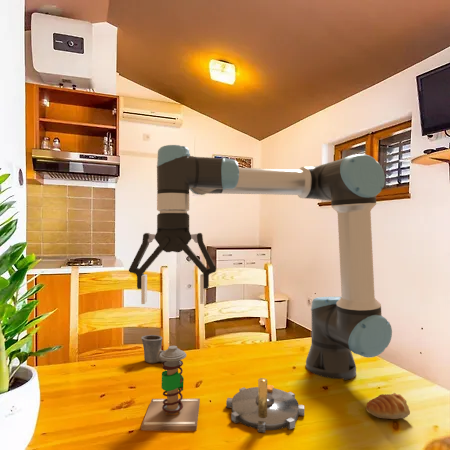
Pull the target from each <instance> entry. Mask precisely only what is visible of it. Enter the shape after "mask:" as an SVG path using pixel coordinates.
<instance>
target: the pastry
mask: <svg viewBox="0 0 450 450" xmlns="http://www.w3.org/2000/svg"><path fill="white" fill-rule="evenodd" d="M365 410H366V411H367V412H368V413H369V414H371V415H372V416H374V417H377V418H380V419H388V420H390V419H391V420H396V419H397V420H399V419H406V418H408V416H409V415H410V414H411V411H410V406H409V405H408V404H407V400H406V399H405V398H404V397H403V396H402V395H401V394H397V393H395V392H393V393H391V394H390V393H389V394H383V393H382V394H379V395H378V396H377V397H374V398H372V399H370V400H369V401H368V402H366V408H365Z"/></svg>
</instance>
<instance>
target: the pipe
mask: <svg viewBox="0 0 450 450" xmlns="http://www.w3.org/2000/svg"><path fill="white" fill-rule="evenodd" d="M140 340H141V341H142V345H143V353H144V354H143V358H144V361H145V362H146V363H148V364H155V363H162V364H163V362H164V360H161V359H160V358H159V355H160V353H162V352H164V351H165V350H164V349H163V350H162V344H163V343H162V341H163V337H162V336H161V335H157V334H147V335H142V336H141V338H140Z"/></svg>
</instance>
